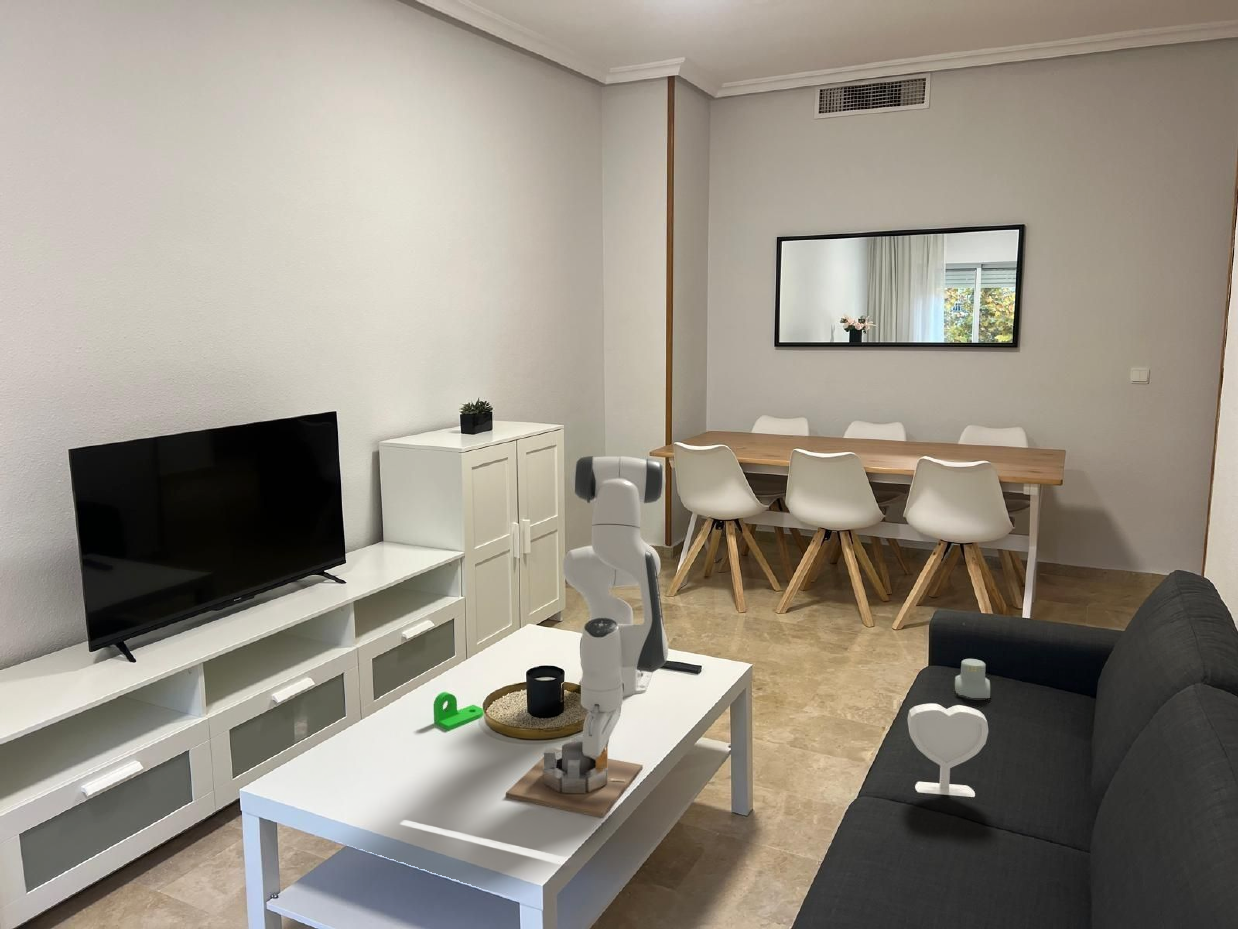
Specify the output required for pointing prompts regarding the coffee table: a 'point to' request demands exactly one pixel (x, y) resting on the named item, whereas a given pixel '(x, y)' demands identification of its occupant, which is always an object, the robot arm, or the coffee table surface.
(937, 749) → the heart sculpture
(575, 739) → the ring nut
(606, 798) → the base plate
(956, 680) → the air freshener
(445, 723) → the mechanical part
